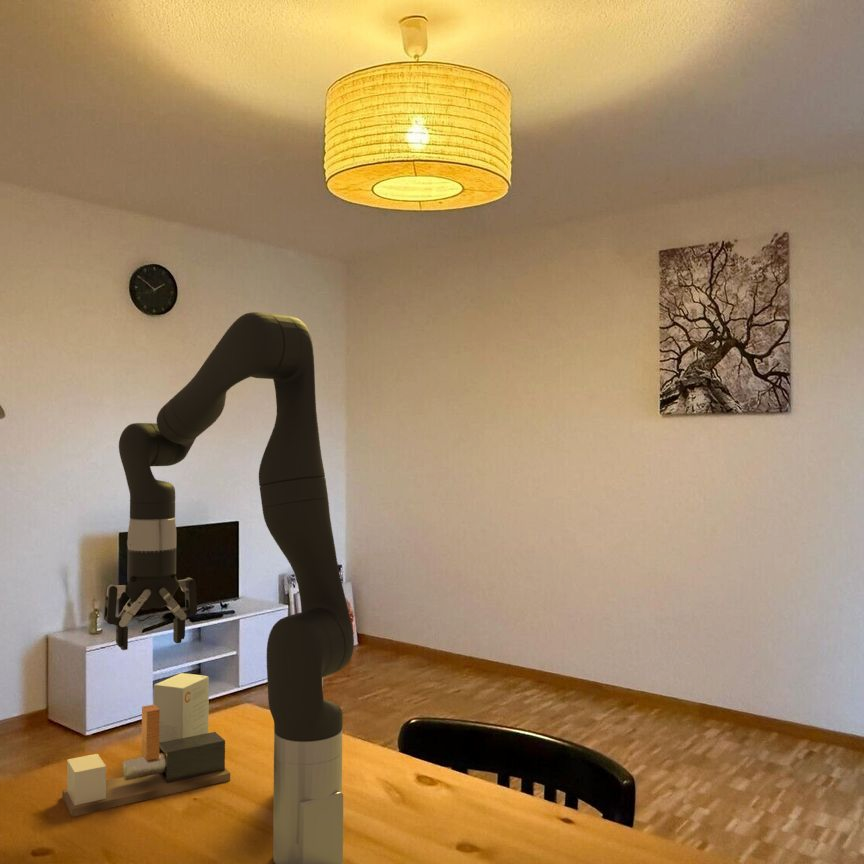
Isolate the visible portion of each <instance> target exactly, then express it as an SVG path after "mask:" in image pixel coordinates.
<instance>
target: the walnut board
mask: <svg viewBox="0 0 864 864" xmlns="http://www.w3.org/2000/svg"><path fill="white" fill-rule="evenodd" d="M228 781H231V772H229V770H228V769H227V768H226V767H225V771H221V772H216V773H212V774H207V775H203V776H198V777H194V778H189V779H185V780H180V781H176V782H171V783H166V782H165V781H164V779H163V778H162V777H161V776H160V774H154V775H150V776H145V777H141V778H136V779H131V780H127V781H125V780H124V778H123V776H122V777H121V776H120V777H117V778H111V779H106V799H102V800H97V801H93V802H88V803H84V804H79V805H75V806H74V804H73V802H72V800H71V798H70V796H69V794H68V792H67V788H66V789H62V790H61V791H62V792H61V795H62V796H61V797H62V800H63V802H64V803H65V805H66V808H67V810H68V812H69V814H70V815H71V817H72V818H73V816H74V817H78V816H82V814H83V815H86V814H91V813H96V812H100V811H103V809H104V810H109V809H112V808H111V807H113V808H115V806H117V807H120V806H119V805H121V806H125V804H126V805H129V803H130V804H134V803H138V801H139V802H142V800H143V801H146V800H151V799H155V797H156V798H160V797H164V795H165V796H169V795H172V794H177V792H178V793H181V792H186V791H190V790H196V789H199V788H204V787H207V786H211V785H215V784H220V783H225V782H228ZM168 794H169V795H168ZM108 808H109V809H108ZM99 810H100V811H99ZM95 811H96V812H95Z"/></svg>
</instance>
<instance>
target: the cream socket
mask: <svg viewBox="0 0 864 864" xmlns="http://www.w3.org/2000/svg"><path fill="white" fill-rule="evenodd" d="M66 762H67V763H66V764H67V765H66V767H67V769H66V773H67V774H66V789H67V792H68V794H69V796H70V798H71V800H72V802H73V804H74V806H75V805H79V804H84V803H88V802H93V801H97V800H102V799H106V780H107V765H106V763H104V761H103V760H102V758H101V757H100V755H99V754H98V753H94V754H89V755H88V754H87V755H82V756H79V757H73V758H69V759H67V760H66Z"/></svg>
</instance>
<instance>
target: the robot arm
mask: <svg viewBox="0 0 864 864" xmlns="http://www.w3.org/2000/svg"><path fill="white" fill-rule="evenodd" d="M315 377H316V375H315V355H314V346H313V339H312V336H311V334H310V331H309V329H308V327H307V325H306V324H305V322H303V321H302V320H301V319H299V318H297V317H294V316H290V315H284V314H283V315H282V314H273V313H267V312H259V311H257V312H255V311H254V312H247V313H243V314H242V315H241V316H239V317H238V318H237V319H236V320H235V321H234V322H233V323H232V324H231V325H230V326H229V327H228V328H227V330H226V331H225V332H224V334H223V335H222V337H221V338H220V340H219V341H218V342H217V343H216V345H215V346H214V348H213V349H212V351H211V352H210V354H208V357H207V358H206V359H205V360H204V362H203V364H202V365H201V367H200V368H199V370H198V371H197V373H196V374H195V375H194V376H193V377H192V379H190V381H189V382H188V383H187V384H186V385H185V386H183V388H182V389H181V390H180V391H178V392H177V393H176V394H175V395H174V396H173V397H171V398H170V399H169V401H168V402H166V403H165V404H164V405H163V406H162V407H161V408H160V410H159V411H158V413H157V416H156V423H155V422H150V423H149V422H135V423H130V424H128V425H127V426H126V427H125V428H124V429H123V430H122V432H121V433H120V438H119V440H118V453H119V456H120V461H121V463H122V467H123V470H124V471H123V472H124V475H125V478H126V483H127V487H128V491H129V523H128V524H129V525H128V529H127V530H128V531H127V540H126V546H127V574H126V575H127V577H126V578H127V579H126V582H125V584H122V585H117V584H115V585H114V584H112V583H109V584H107V585H106V587H105V594H104V595H105V596H104V598H105V599H104V609H103V610H104V611H103V612H104V613H103V621H105V622H106V623H107V624H108V625H113V626H115V643H116V645H117V646H118V647H119V648H120V649H121V650H122V651H126V650H129V649H128V648H129V647H128V646H129V645H128V644H129V643H128V641H129V626H127V625H128V624H129V622H130V621H131V620H132V618H133V617H134V616H135V615H136V614H137V613H138V611H140V609H141V610H143V611H148V610H151V609H158V610H159V609H164V607H167V608H168V609H169V610H170V612H171V613H172V614H173V615H174V616H175V618H174V619H173V624H172V625H173V626H172V627H173V628H172V629H173V630H172V631H173V633H172V634H173V635H172V636H173V638H172V639H173V642H174V643H175V644H181V643H182V640H185V637H186V619H187V618H189V617H191V616H195V615H197V613H198V602H197V600H198V599H197V598H198V597H197V582H196V580H195V579H193V578H191V577H188V576H187V577H184V579H177V525H176V489H175V486H174V485H173V484H172V483H170V482H169V481H168V482H167V481H165V480H159V479H156V478H155V476H154V474H153V472H152V469H151V468H152V467H170V466H173V465H177V464H179V463H180V462H182V461H183V460H185V458H186V457H187V455H188V454H189V451H190V450H191V448H192V446H193V444H194V443H195V440H196V438H198V437H199V436H201V435H202V434H203V433H204V432H205V431H206V430H207V429H209V427H210V428H211V426H213V425H214V423H215V422H216V421H218V419H219V418H220V416H221V415H222V413H223V411H224V408H225V404H226V398H227V392H228V391H229V390H230V389H231V388H232V387H234V386H236V385H237V384H239V383H240V382H243V381H244V380H246V379H248V378H254V379H266V380H272V381H273V385H274V392H275V403H276V416H275V422H274V426H273V429H272V432H271V433H270V437H269V439H268V441H267V444H266V447H265V449H264V451H263V452H264V453H263V455H262V456H261V457H262V458H261V461H260V464H259V468H258V469H259V470H258V486H259V493H260V499H261V508H262V509H261V510H262V516H263V519H264V522H265V525H266V528H267V529H268V531H269V533H270V535H271V537H272V538H273V540H274V542H275V543H276V545H277V546H278V548H279V549H280V550H281V552H282V554H283V556H285V558H286V560H287V562H288V563H289V565H290V566H291V570H292V571H293V573H294V576H295V579H296V583H297V588H298V593H299V600H300V612H298V613H293V614H291V615H290V614H289V615H287V616H284V617H282V618H281V619H280V618H279V620H277V621H276V623H274V624H273V626H272V628H271V630H270V631H269V635H268V639H267V642H266V643H267V645H266V675H267V677H266V678H267V700H268V707H269V711H270V714H271V717H272V719H273V726H274V727H273V729H274V730H273V806H272V807H273V812H272V813H273V815H272V816H273V817H272V820H273V825H272V830H273V833H272V834H273V839H272V840H273V843H272V844H273V846H272V847H273V851H272V853H273V858H272V859H273V863H274V864H343V863H344V794H343V710H342V709H341V707H340V706H339V704H338V703H335V702H333V701H331V700H326V699H324V688H323V687H324V685H323V686H322V678H323V679H324V678H325V677H328V676H330V675H333V674H335V673H337V672H339V671H341V670H343V669H344V668H346V666H347V665H348V664H349V663H350V661H351V659H352V657H353V654H354V647H355V637H354V636H355V635H354V630H353V629H354V628H353V624H352V619H351V615H350V611H349V606H348V603H347V599H346V594H345V591H344V587H343V582H342V579H341V575H340V569H339V565H338V564H339V563H338V559H337V552H336V545H335V540H334V539H335V538H334V533H333V532H334V531H333V527H332V521H331V514H330V505H329V504H330V503H329V494H328V488H327V487H328V486H327V481H326V475H325V469H324V464H323V463H324V462H323V458H322V449H321V443H320V433H319V424H318V414H317V402H316V401H317V399H316V378H315ZM179 587H180V589H181V591H182V592H183V593H184V602H185V603H184V604H185V608H181V606H180V604H179V603H178V602H177V601H176V600H175V598H174V597H173V596H175V593H176V592H177V591H178V589H179ZM123 593H125V594H126V596H128V598H129V599H128V600H127V602H126V603H125V605H123V607H122V610H121V611H120V613H119V614H118V616H117V615H116V612H117V604H118V603H117V602H118V600H120V599H121V597H122V594H123Z"/></svg>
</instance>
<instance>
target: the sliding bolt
mask: <svg viewBox="0 0 864 864" xmlns="http://www.w3.org/2000/svg"><path fill="white" fill-rule="evenodd" d="M159 719H160V709H159V708H158V707H157V706H156V705H155V704H154V703H153V704H148V705H143V706H141V755H142V756H141V757H137V758H131V759H127V760H123V761H122V766H121V767H122V771H121V772H122V777H123V778H124V780H125V781H127V780H131V779H136V778H141V777H145V776H150V775H154V774H159V773H164V772H166V754H165V753H160V754H159Z"/></svg>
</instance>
